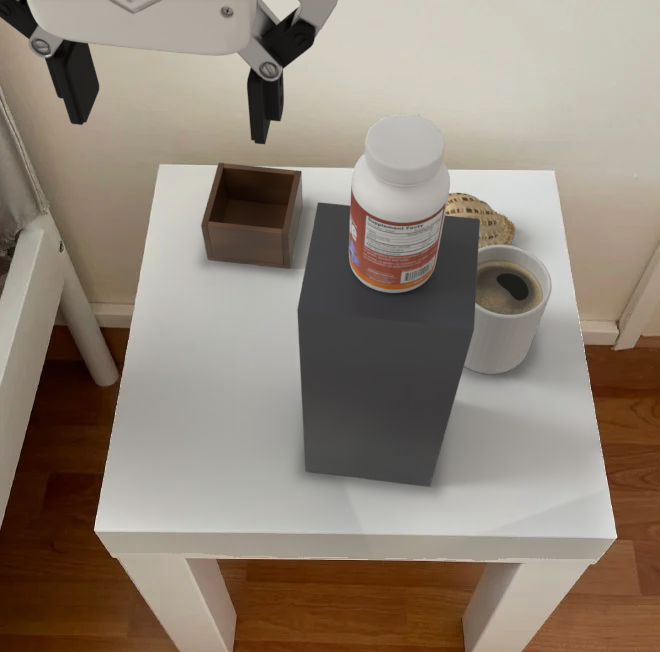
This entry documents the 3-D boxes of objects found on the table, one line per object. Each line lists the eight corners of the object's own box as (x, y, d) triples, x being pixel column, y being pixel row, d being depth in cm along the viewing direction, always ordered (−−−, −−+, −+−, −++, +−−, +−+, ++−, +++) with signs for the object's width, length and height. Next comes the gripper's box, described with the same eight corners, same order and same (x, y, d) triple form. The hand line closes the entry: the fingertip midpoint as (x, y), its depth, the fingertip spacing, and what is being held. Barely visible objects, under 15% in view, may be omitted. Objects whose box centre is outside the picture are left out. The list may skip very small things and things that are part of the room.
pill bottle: (363, 219, 59) (371, 93, 49) (445, 241, 58) (469, 116, 48) (336, 283, 56) (338, 162, 46) (421, 307, 55) (442, 188, 45)
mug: (543, 360, 84) (569, 302, 75) (460, 387, 82) (476, 330, 73) (497, 282, 89) (516, 219, 80) (418, 306, 87) (428, 244, 78)
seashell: (478, 225, 97) (408, 212, 92) (507, 189, 92) (436, 173, 88) (499, 274, 93) (428, 264, 88) (530, 239, 89) (457, 226, 84)
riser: (305, 471, 77) (297, 310, 55) (319, 383, 82) (317, 201, 60) (430, 487, 76) (474, 330, 54) (437, 397, 81) (480, 218, 59)
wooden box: (207, 259, 90) (200, 225, 85) (223, 198, 95) (218, 162, 90) (290, 268, 90) (288, 234, 85) (302, 206, 94) (301, 170, 89)
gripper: (-181, -246, 27) (-6, 148, 42) (334, -201, 26) (325, 184, 41) (-94, -337, 31) (38, 55, 45) (359, -300, 30) (342, 86, 45)
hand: (174, 116), depth 43 cm, fingers open, 9 cm apart
